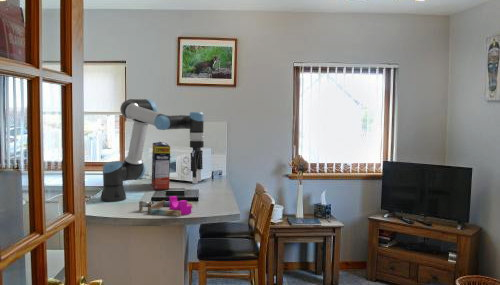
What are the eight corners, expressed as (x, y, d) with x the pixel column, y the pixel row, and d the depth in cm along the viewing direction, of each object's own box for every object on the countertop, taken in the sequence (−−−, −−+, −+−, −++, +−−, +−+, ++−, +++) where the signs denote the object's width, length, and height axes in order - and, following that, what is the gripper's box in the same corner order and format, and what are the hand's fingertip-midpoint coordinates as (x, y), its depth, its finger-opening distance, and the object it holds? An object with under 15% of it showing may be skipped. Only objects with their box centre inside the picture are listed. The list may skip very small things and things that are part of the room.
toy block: (191, 213, 228) (191, 200, 227) (180, 215, 224) (180, 201, 224) (179, 208, 240) (179, 195, 239) (169, 209, 237) (169, 196, 236)
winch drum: (138, 210, 232) (138, 202, 232) (142, 209, 237) (142, 200, 236) (150, 211, 231) (150, 202, 230) (153, 209, 235) (153, 200, 235)
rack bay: (148, 213, 226) (147, 208, 226) (162, 205, 246) (162, 200, 246) (180, 215, 223) (180, 210, 222) (192, 207, 242) (192, 201, 242)
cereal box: (169, 190, 291) (171, 144, 289) (153, 190, 288) (154, 144, 286) (166, 183, 317) (167, 141, 314) (150, 183, 313) (151, 141, 311)
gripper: (197, 141, 218) (197, 185, 220) (208, 139, 236) (208, 179, 238) (184, 141, 219) (184, 184, 221) (195, 138, 238) (195, 178, 240)
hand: (196, 181), depth 230 cm, fingers open, 6 cm apart
